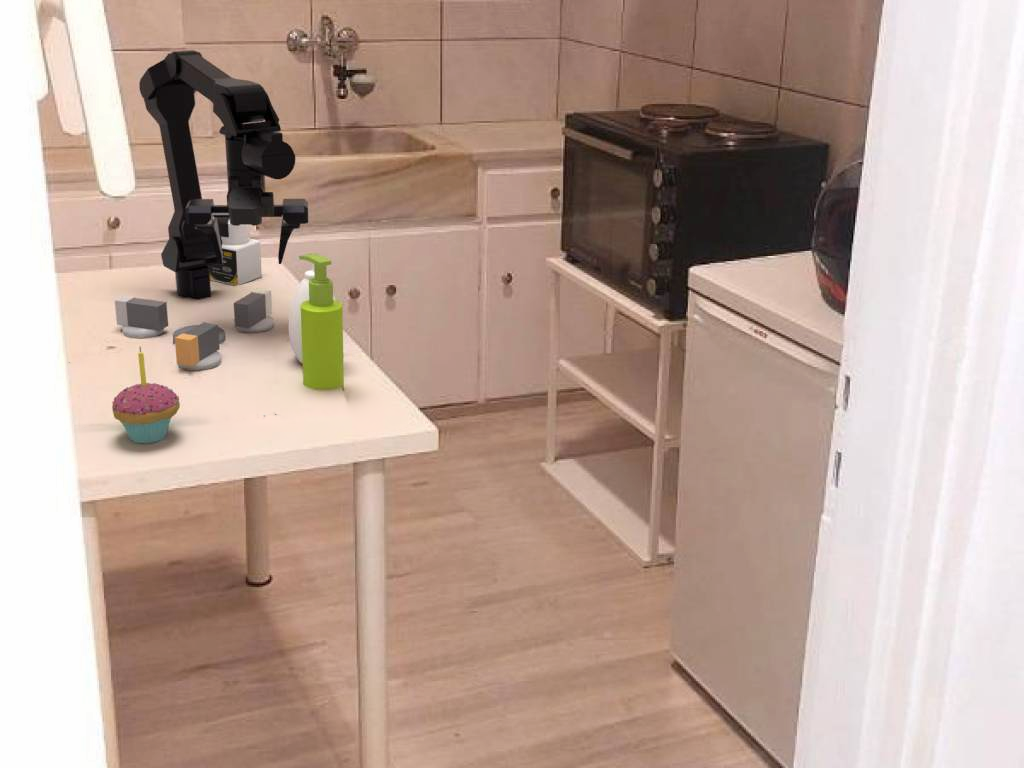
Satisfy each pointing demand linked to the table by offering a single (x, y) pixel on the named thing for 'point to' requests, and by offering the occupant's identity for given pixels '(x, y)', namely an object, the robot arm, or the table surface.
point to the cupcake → (145, 408)
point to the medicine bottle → (236, 255)
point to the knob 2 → (254, 312)
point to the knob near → (141, 316)
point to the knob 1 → (198, 347)
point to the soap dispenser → (321, 331)
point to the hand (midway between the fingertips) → (250, 263)
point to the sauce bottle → (299, 313)
